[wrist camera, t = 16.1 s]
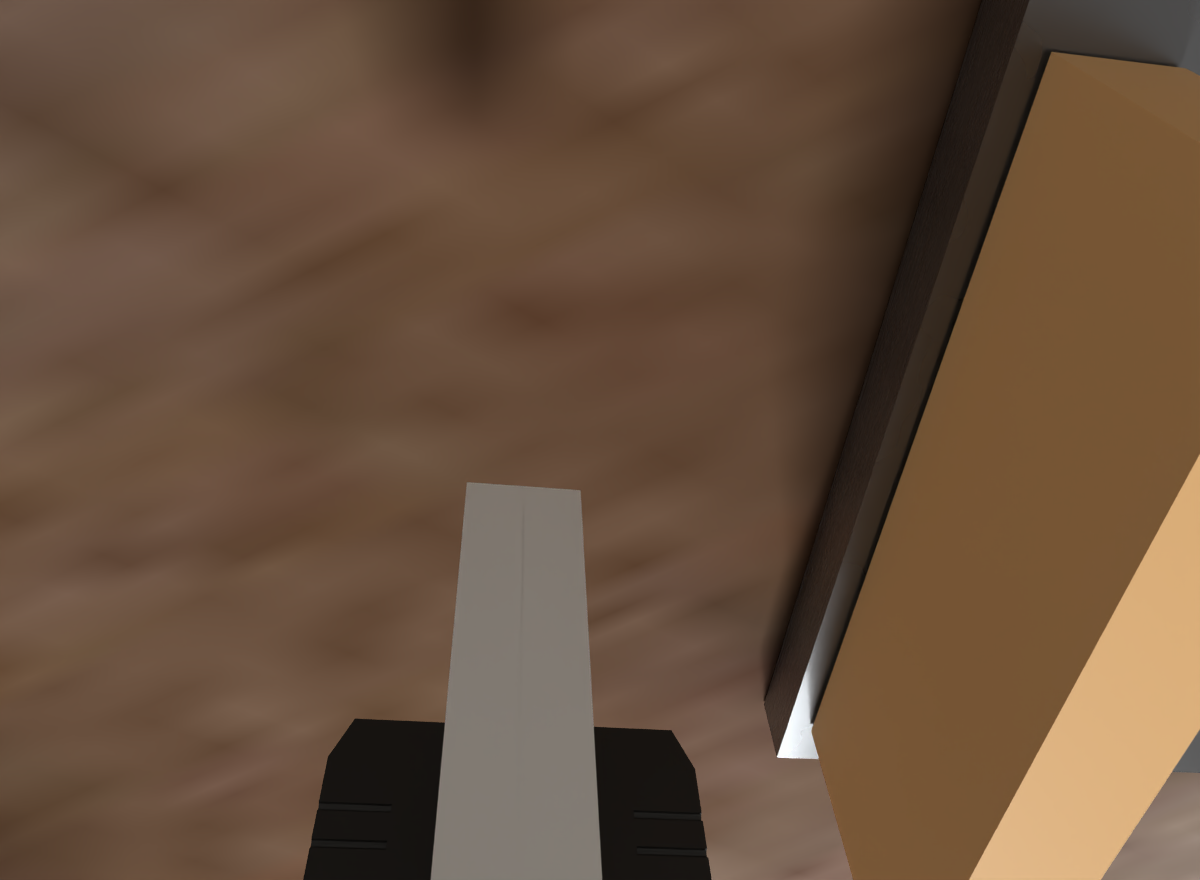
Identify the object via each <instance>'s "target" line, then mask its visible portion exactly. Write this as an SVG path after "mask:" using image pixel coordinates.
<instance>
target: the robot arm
mask: <svg viewBox="0 0 1200 880" xmlns="http://www.w3.org/2000/svg"><path fill="white" fill-rule="evenodd" d="M706 850H707V846H706V840H705V833H704V826H703V821H701V806H700V800H699V793H698V786H697V780H696V773H695V768H694V767H693V765H692V763H691V762H690V760H689V759H688V757H687V755H686V754H685V752H684V750H683V749H682V747H681V745H680V744H679V742H678V741H677V739H676V737H675V736H674V734H673V732H672V731H671V730H651V729H629V728H606V727H594V724H593V706H592V688H591V670H590V652H589V634H588V617H587V599H586V581H585V563H584V545H583V527H582V509H581V491H580V490H569V489H554V488H540V487H526V486H512V485H498V484H483V483H469V482H467V488H466V499H465V510H464V521H463V532H462V543H461V554H460V565H459V576H458V587H457V597H456V608H455V619H454V630H453V641H452V652H451V663H450V674H449V685H448V696H447V707H446V718H445V723H439V722H417V721H394V720H372V719H355V720H354V721H353V722H352V724H351V725H350V727H349V728H348V729H347V731H346V732H345V734H344V735H343V736H342V738H341V739H340V741H339V742H338V743H337V745H336V746H335V748H334V749H333V750H332V752H331V753H330V755H329V756H328V759H327V764H326V769H325V774H324V779H323V784H322V789H321V794H320V799H319V808H318V810H317V814H316V819H315V824H314V829H313V834H312V842H311V848H310V849H309V854H308V859H307V864H306V869H305V874H304V879H303V880H711V873H710V866H709V860H708V858H707V855H706Z"/></svg>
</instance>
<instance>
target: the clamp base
mask: <svg viewBox="0 0 1200 880" xmlns="http://www.w3.org/2000/svg"><path fill="white" fill-rule="evenodd" d="M1051 52H1057V53H1065V54H1073V55H1082V56H1090V57H1098V58H1106V59H1114V60H1122V61H1130V62H1139V63H1147V64H1155V65H1163V66H1171V67H1179V68H1186V69H1188V70H1190V71H1192V72H1194V73H1196V74H1197V75H1199V76H1200V0H982V3H981V6H980V9H979V12H978V15H977V19H976V22H975V25H974V28H973V32H972V35H971V38H970V41H969V44H968V48H967V51H966V54H965V57H964V61H963V64H962V67H961V70H960V74H959V77H958V80H957V83H956V86H955V90H954V93H953V96H952V99H951V103H950V106H949V109H948V112H947V115H946V119H945V122H944V125H943V128H942V132H941V135H940V138H939V141H938V145H937V148H936V151H935V154H934V157H933V161H932V164H931V167H930V170H929V174H928V177H927V180H926V183H925V186H924V190H923V193H922V196H921V199H920V203H919V206H918V209H917V212H916V216H915V219H914V222H913V225H912V228H911V232H910V235H909V238H908V241H907V245H906V248H905V251H904V254H903V257H902V261H901V264H900V267H899V270H898V274H897V277H896V280H895V283H894V287H893V290H892V293H891V296H890V299H889V303H888V306H887V309H886V312H885V316H884V319H883V322H882V325H881V328H880V332H879V335H878V338H877V341H876V345H875V348H874V351H873V354H872V358H871V361H870V364H869V367H868V370H867V374H866V377H865V380H864V383H863V387H862V390H861V393H860V396H859V399H858V403H857V406H856V409H855V412H854V416H853V419H852V422H851V425H850V428H849V432H848V435H847V438H846V441H845V445H844V448H843V451H842V454H841V458H840V461H839V464H838V467H837V470H836V474H835V477H834V480H833V483H832V487H831V490H830V493H829V496H828V499H827V503H826V506H825V509H824V512H823V516H822V519H821V522H820V525H819V529H818V532H817V535H816V538H815V541H814V545H813V548H812V551H811V554H810V558H809V561H808V564H807V567H806V570H805V574H804V577H803V580H802V583H801V587H800V590H799V593H798V596H797V600H796V603H795V606H794V609H793V612H792V616H791V619H790V622H789V625H788V629H787V632H786V635H785V638H784V641H783V645H782V648H781V651H780V654H779V658H778V661H777V664H776V667H775V671H774V674H773V677H772V680H771V683H770V687H769V690H768V693H767V696H766V700H765V703H764V706H765V710H766V714H767V719H768V723H769V727H770V731H771V735H772V739H773V743H774V747H775V751H776V755H777V757H779V758H806V759H819V757H818V754H817V750H816V747H815V743H814V740H813V736H812V733H811V730H812V727H813V724H814V722H815V719H816V716H817V713H818V710H819V707H820V705H821V702H822V699H823V696H824V693H825V690H826V688H827V685H828V682H829V679H830V676H831V673H832V671H833V668H834V665H835V662H836V659H837V657H838V654H839V651H840V648H841V645H842V642H843V640H844V637H845V634H846V631H847V628H848V625H849V623H850V620H851V617H852V614H853V611H854V608H855V606H856V603H857V600H858V597H859V594H860V591H861V589H862V586H863V583H864V580H865V577H866V575H867V572H868V569H869V566H870V563H871V560H872V558H873V555H874V552H875V549H876V546H877V543H878V541H879V538H880V535H881V532H882V529H883V526H884V524H885V521H886V518H887V515H888V512H889V509H890V507H891V504H892V501H893V498H894V495H895V492H896V490H897V487H898V484H899V481H900V478H901V476H902V473H903V470H904V467H905V464H906V461H907V459H908V456H909V453H910V450H911V447H912V444H913V442H914V439H915V436H916V433H917V430H918V427H919V425H920V422H921V419H922V416H923V413H924V410H925V408H926V405H927V402H928V399H929V396H930V394H931V391H932V388H933V385H934V382H935V379H936V377H937V374H938V371H939V368H940V365H941V362H942V360H943V357H944V354H945V351H946V348H947V345H948V343H949V340H950V337H951V334H952V331H953V328H954V326H955V323H956V320H957V317H958V314H959V312H960V309H961V306H962V303H963V300H964V297H965V295H966V292H967V289H968V286H969V283H970V280H971V278H972V275H973V272H974V269H975V266H976V263H977V261H978V258H979V255H980V252H981V249H982V246H983V244H984V241H985V238H986V235H987V232H988V230H989V227H990V224H991V221H992V218H993V215H994V213H995V210H996V207H997V204H998V201H999V198H1000V196H1001V193H1002V190H1003V187H1004V184H1005V181H1006V179H1007V176H1008V173H1009V170H1010V167H1011V164H1012V162H1013V159H1014V156H1015V153H1016V150H1017V148H1018V145H1019V142H1020V139H1021V136H1022V133H1023V131H1024V128H1025V125H1026V122H1027V119H1028V116H1029V114H1030V111H1031V108H1032V105H1033V102H1034V99H1035V97H1036V94H1037V91H1038V88H1039V85H1040V82H1041V80H1042V77H1043V74H1044V71H1045V68H1046V66H1047V63H1048V60H1049V57H1050V54H1051ZM1172 772H1193V773H1200V730H1199V731H1198V733H1197V734H1196V736H1195V737H1194V739H1193V740H1192V742H1191V744H1190V745H1189V747H1188V748H1187V750H1186V751H1185V753H1184V754H1183V756H1182V757H1181V759H1180V760H1179V762H1178V763H1177V765H1176V766H1175V768H1174V769H1173V771H1172Z"/></svg>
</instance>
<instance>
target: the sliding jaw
mask: <svg viewBox="0 0 1200 880" xmlns="http://www.w3.org/2000/svg"><path fill="white" fill-rule="evenodd" d="M1199 730H1200V76H1199V75H1197V74H1196V73H1194V72H1192V71H1190V70H1188V69H1186V68H1179V67H1171V66H1163V65H1155V64H1147V63H1139V62H1130V61H1122V60H1114V59H1106V58H1098V57H1090V56H1082V55H1073V54H1065V53H1057V52H1051V54H1050V57H1049V60H1048V63H1047V66H1046V68H1045V71H1044V74H1043V77H1042V80H1041V82H1040V85H1039V88H1038V91H1037V94H1036V97H1035V99H1034V102H1033V105H1032V108H1031V111H1030V114H1029V116H1028V119H1027V122H1026V125H1025V128H1024V131H1023V133H1022V136H1021V139H1020V142H1019V145H1018V148H1017V150H1016V153H1015V156H1014V159H1013V162H1012V164H1011V167H1010V170H1009V173H1008V176H1007V179H1006V181H1005V184H1004V187H1003V190H1002V193H1001V196H1000V198H999V201H998V204H997V207H996V210H995V213H994V215H993V218H992V221H991V224H990V227H989V230H988V232H987V235H986V238H985V241H984V244H983V246H982V249H981V252H980V255H979V258H978V261H977V263H976V266H975V269H974V272H973V275H972V278H971V280H970V283H969V286H968V289H967V292H966V295H965V297H964V300H963V303H962V306H961V309H960V312H959V314H958V317H957V320H956V323H955V326H954V328H953V331H952V334H951V337H950V340H949V343H948V345H947V348H946V351H945V354H944V357H943V360H942V362H941V365H940V368H939V371H938V374H937V377H936V379H935V382H934V385H933V388H932V391H931V394H930V396H929V399H928V402H927V405H926V408H925V410H924V413H923V416H922V419H921V422H920V425H919V427H918V430H917V433H916V436H915V439H914V442H913V444H912V447H911V450H910V453H909V456H908V459H907V461H906V464H905V467H904V470H903V473H902V476H901V478H900V481H899V484H898V487H897V490H896V492H895V495H894V498H893V501H892V504H891V507H890V509H889V512H888V515H887V518H886V521H885V524H884V526H883V529H882V532H881V535H880V538H879V541H878V543H877V546H876V549H875V552H874V555H873V558H872V560H871V563H870V566H869V569H868V572H867V575H866V577H865V580H864V583H863V586H862V589H861V591H860V594H859V597H858V600H857V603H856V606H855V608H854V611H853V614H852V617H851V620H850V623H849V625H848V628H847V631H846V634H845V637H844V640H843V642H842V645H841V648H840V651H839V654H838V657H837V659H836V662H835V665H834V668H833V671H832V673H831V676H830V679H829V682H828V685H827V688H826V690H825V693H824V696H823V699H822V702H821V705H820V707H819V710H818V713H817V716H816V719H815V722H814V724H813V727H812V730H811V733H812V736H813V740H814V743H815V747H816V750H817V754H818V757H819V761H820V764H821V768H822V771H823V775H824V778H825V782H826V785H827V789H828V792H829V796H830V799H831V803H832V806H833V810H834V813H835V817H836V821H837V824H838V828H839V831H840V835H841V838H842V842H843V845H844V849H845V852H846V856H847V859H848V863H849V866H850V870H851V873H852V877H853V880H1101V878H1102V877H1103V875H1104V874H1105V872H1106V871H1107V869H1108V868H1109V866H1110V865H1111V863H1112V862H1113V860H1114V859H1115V857H1116V856H1117V854H1118V853H1119V851H1120V850H1121V848H1122V847H1123V845H1124V844H1125V842H1126V840H1127V839H1128V837H1129V836H1130V834H1131V833H1132V831H1133V830H1134V828H1135V827H1136V825H1137V824H1138V822H1139V821H1140V819H1141V818H1142V816H1143V815H1144V813H1145V812H1146V810H1147V809H1148V807H1149V806H1150V804H1151V803H1152V801H1153V800H1154V798H1155V797H1156V795H1157V794H1158V792H1159V790H1160V789H1161V787H1162V786H1163V784H1164V783H1165V781H1166V780H1167V778H1168V777H1169V775H1170V774H1171V772H1172V771H1173V769H1174V768H1175V766H1176V765H1177V763H1178V762H1179V760H1180V759H1181V757H1182V756H1183V754H1184V753H1185V751H1186V750H1187V748H1188V747H1189V745H1190V744H1191V742H1192V740H1193V739H1194V737H1195V736H1196V734H1197V733H1198V731H1199Z"/></svg>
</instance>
